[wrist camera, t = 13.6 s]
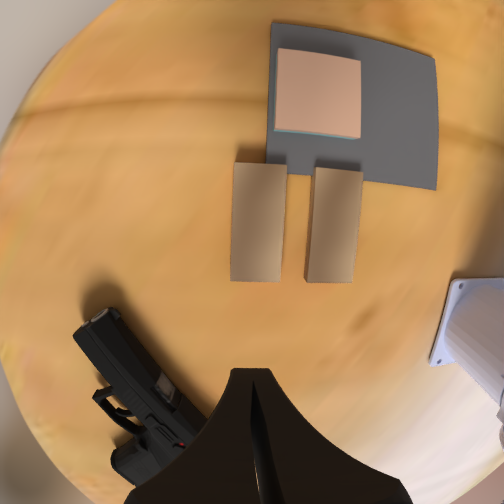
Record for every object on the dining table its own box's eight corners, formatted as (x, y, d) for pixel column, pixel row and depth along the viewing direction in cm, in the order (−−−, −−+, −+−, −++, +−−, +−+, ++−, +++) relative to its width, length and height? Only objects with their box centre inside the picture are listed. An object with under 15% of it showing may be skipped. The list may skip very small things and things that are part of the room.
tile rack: (357, 172, 18) (363, 172, 17) (346, 278, 20) (352, 283, 19) (234, 162, 18) (234, 162, 17) (230, 275, 20) (230, 281, 19)
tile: (360, 61, 15) (278, 48, 15) (360, 137, 16) (275, 128, 16) (353, 66, 16) (275, 55, 16) (353, 139, 18) (272, 131, 17)
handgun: (34, 350, 22) (122, 296, 20) (148, 470, 25) (245, 445, 24) (14, 369, 18) (103, 316, 17) (141, 494, 22) (245, 473, 21)
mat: (431, 60, 16) (434, 58, 16) (432, 190, 19) (436, 190, 19) (271, 25, 16) (271, 22, 15) (265, 172, 18) (265, 172, 18)
